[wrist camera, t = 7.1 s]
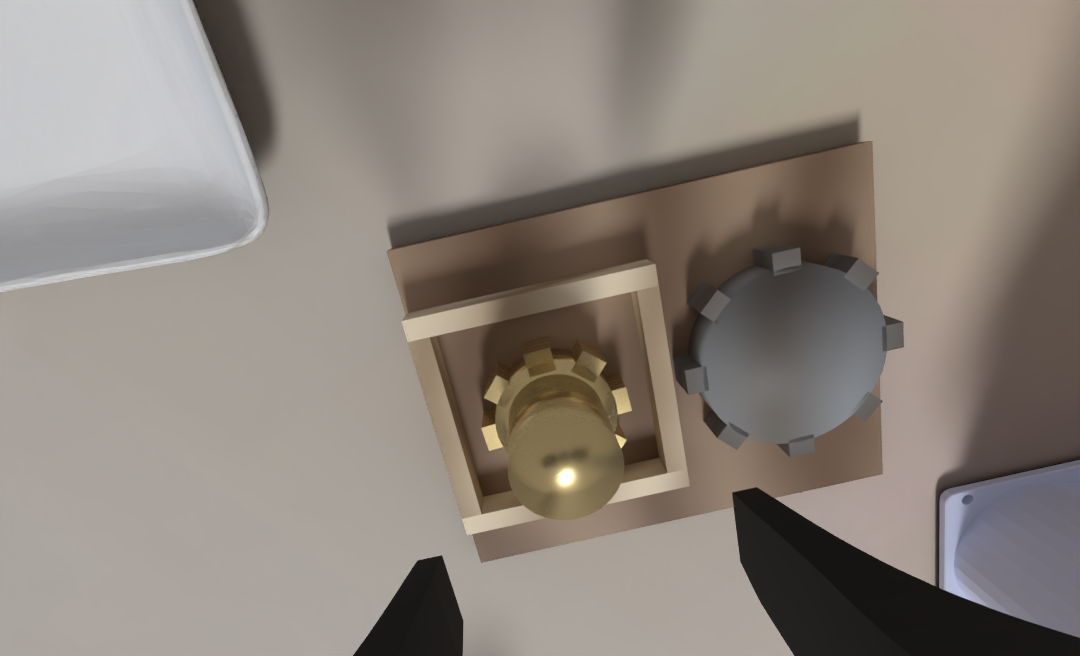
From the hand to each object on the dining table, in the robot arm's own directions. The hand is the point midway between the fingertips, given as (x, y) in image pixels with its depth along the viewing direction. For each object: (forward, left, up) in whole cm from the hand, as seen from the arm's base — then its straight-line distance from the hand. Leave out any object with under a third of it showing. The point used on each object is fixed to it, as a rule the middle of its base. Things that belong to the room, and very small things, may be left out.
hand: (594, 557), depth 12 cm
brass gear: (0, 0, -8) cm, 9 cm away
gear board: (-4, -1, -9) cm, 10 cm away
